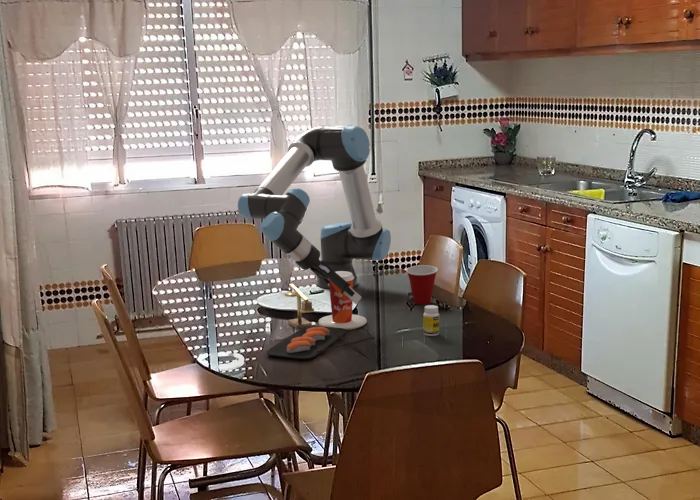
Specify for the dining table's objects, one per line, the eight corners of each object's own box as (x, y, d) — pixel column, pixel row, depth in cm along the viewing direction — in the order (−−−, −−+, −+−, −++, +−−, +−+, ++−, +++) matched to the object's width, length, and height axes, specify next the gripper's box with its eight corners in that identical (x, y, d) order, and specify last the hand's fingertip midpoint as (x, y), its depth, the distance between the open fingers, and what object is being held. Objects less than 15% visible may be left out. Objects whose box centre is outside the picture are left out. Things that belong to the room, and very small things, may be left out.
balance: (282, 320, 257) (281, 283, 255) (297, 317, 259) (295, 281, 257) (302, 332, 243) (301, 294, 241) (317, 330, 245) (316, 292, 243)
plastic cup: (401, 304, 272) (400, 270, 270) (413, 297, 282) (413, 264, 279) (430, 308, 267) (430, 273, 265) (442, 300, 277) (442, 266, 274)
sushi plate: (307, 330, 247) (306, 318, 247) (399, 339, 236) (399, 327, 236) (262, 359, 221) (261, 346, 220) (364, 371, 210) (363, 358, 209)
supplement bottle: (434, 337, 236) (434, 309, 234) (420, 334, 238) (420, 307, 237) (441, 333, 240) (442, 305, 238) (427, 330, 242) (427, 303, 241)
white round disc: (311, 321, 254) (310, 318, 254) (352, 315, 261) (352, 311, 261) (331, 333, 241) (331, 330, 241) (375, 326, 248) (375, 322, 248)
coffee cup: (336, 326, 245) (334, 278, 242) (324, 318, 253) (323, 272, 249) (360, 321, 249) (359, 274, 246) (348, 314, 256) (347, 269, 253)
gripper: (281, 256, 250) (328, 298, 260) (310, 269, 231) (360, 314, 241) (296, 237, 251) (342, 280, 261) (326, 249, 232) (375, 295, 242)
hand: (351, 297), depth 251 cm, fingers open, 9 cm apart
